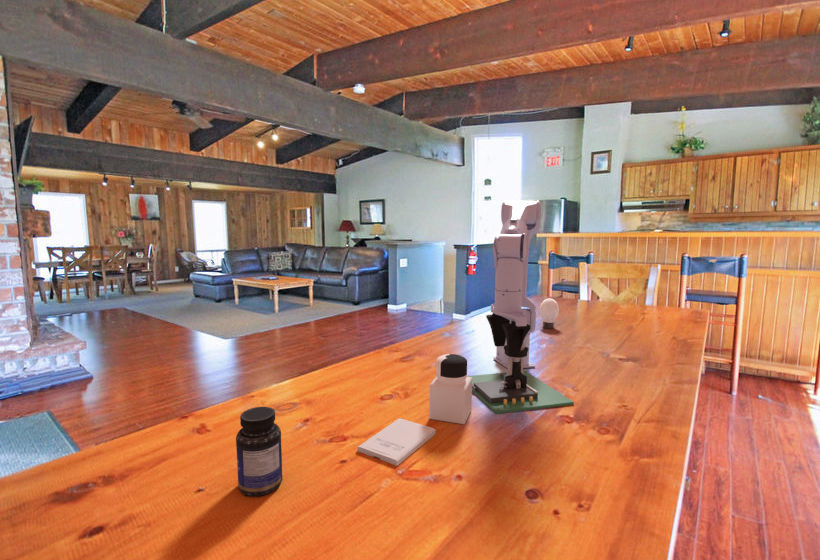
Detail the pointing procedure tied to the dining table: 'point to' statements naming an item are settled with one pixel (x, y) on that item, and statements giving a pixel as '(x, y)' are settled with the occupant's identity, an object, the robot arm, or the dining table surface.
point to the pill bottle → (259, 452)
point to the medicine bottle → (450, 390)
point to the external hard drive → (397, 441)
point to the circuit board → (545, 397)
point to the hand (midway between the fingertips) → (506, 350)
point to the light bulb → (549, 312)
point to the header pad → (503, 392)
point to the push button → (515, 370)
